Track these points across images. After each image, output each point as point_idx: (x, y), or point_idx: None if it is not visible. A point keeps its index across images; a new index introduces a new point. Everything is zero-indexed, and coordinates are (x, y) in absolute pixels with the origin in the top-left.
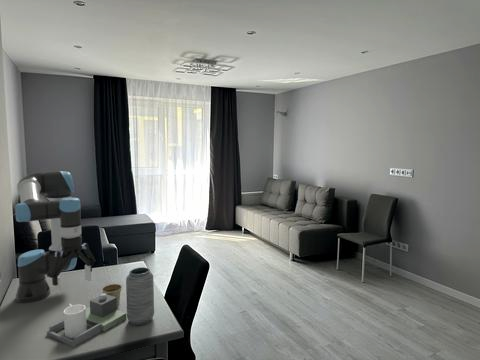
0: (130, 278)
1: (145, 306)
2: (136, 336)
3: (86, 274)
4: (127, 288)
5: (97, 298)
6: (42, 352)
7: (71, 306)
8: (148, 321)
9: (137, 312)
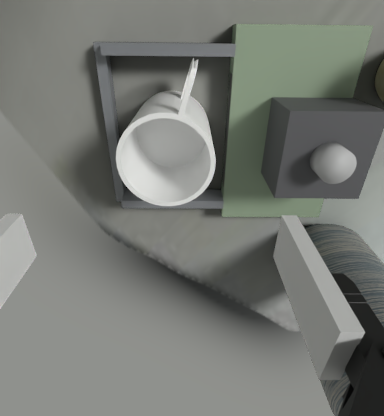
0: None
1: None
2: (238, 286)
3: (293, 264)
4: None
5: (325, 126)
6: (43, 141)
7: (177, 119)
8: None
9: None
